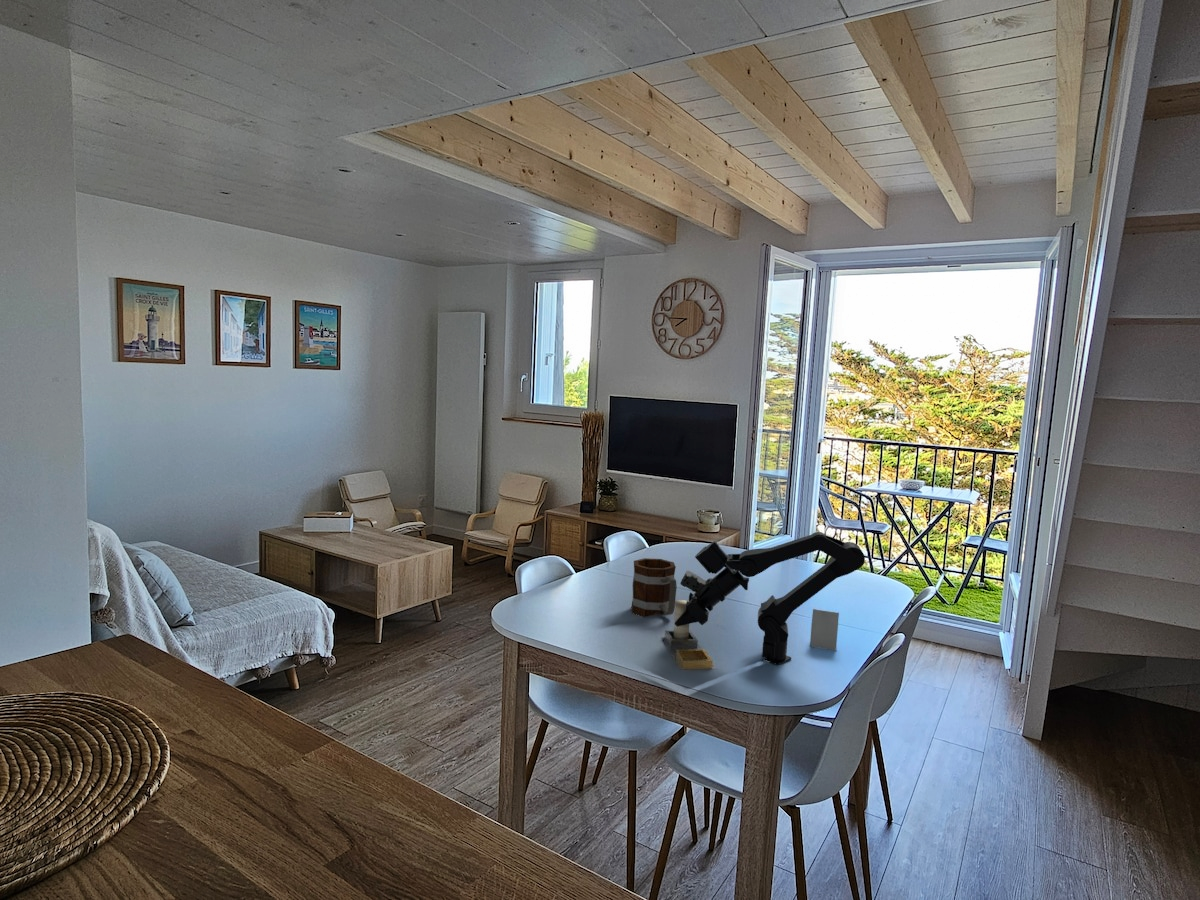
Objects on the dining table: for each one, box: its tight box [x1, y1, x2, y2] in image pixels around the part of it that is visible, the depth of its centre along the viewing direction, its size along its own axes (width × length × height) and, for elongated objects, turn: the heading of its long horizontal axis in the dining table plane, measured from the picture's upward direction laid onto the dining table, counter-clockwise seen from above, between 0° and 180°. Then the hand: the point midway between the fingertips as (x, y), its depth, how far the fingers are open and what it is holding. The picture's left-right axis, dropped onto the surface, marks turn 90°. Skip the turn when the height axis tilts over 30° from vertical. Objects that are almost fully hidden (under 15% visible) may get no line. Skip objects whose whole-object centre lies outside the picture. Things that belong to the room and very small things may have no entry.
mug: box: [630, 557, 677, 618], centre depth 211 cm, size 20×14×15 cm
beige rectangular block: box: [809, 608, 840, 652], centre depth 191 cm, size 4×7×10 cm, turn 69°
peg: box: [673, 599, 690, 639], centre depth 185 cm, size 4×4×11 cm
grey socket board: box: [660, 629, 717, 671], centre depth 179 cm, size 21×9×3 cm, turn 8°
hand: (676, 622), depth 186 cm, fingers closed on peg, 4 cm apart
